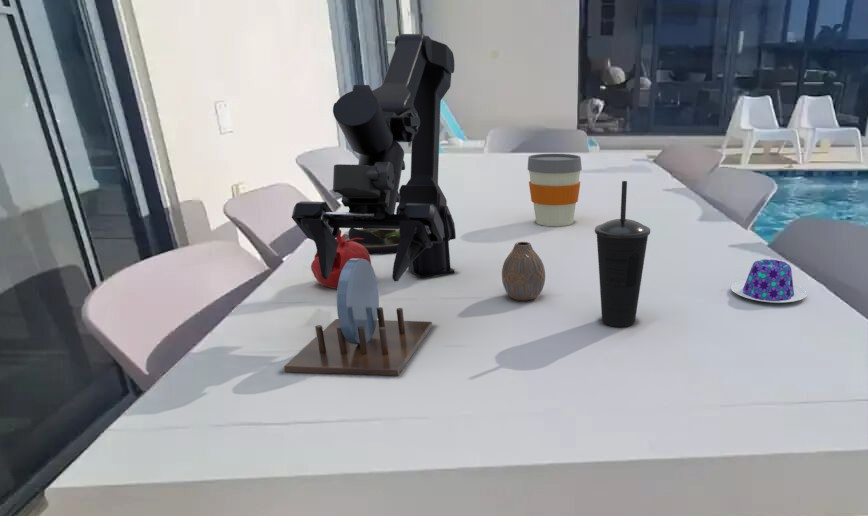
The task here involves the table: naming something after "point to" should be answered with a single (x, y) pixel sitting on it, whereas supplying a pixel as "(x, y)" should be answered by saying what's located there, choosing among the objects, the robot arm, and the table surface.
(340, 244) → the pomegranate
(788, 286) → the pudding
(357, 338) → the plate
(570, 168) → the reusable coffee cup
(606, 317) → the drinking cup
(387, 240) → the salad plate
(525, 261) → the vase
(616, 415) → the table surface
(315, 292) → the table surface
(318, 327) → the rack
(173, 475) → the table surface
